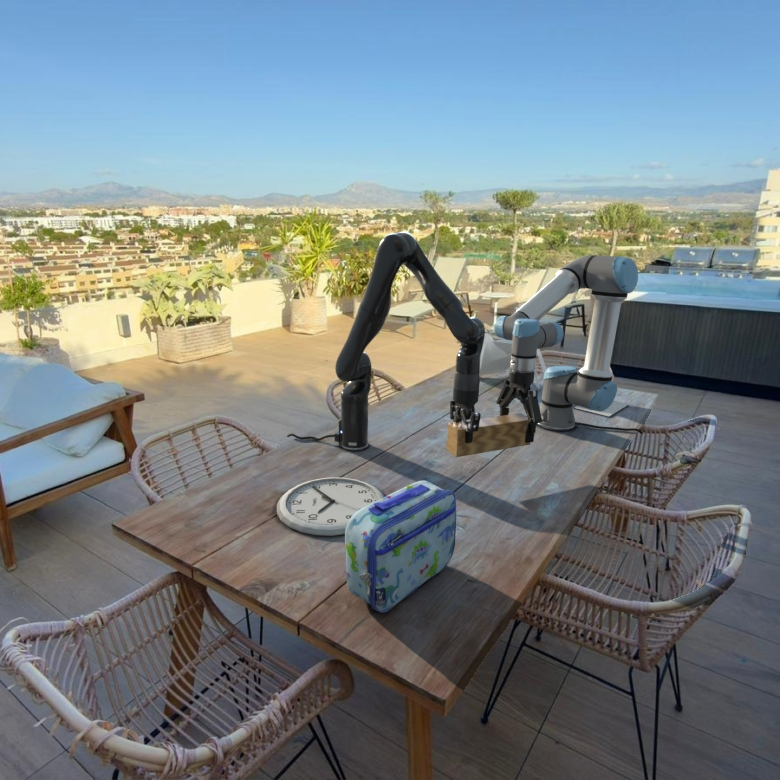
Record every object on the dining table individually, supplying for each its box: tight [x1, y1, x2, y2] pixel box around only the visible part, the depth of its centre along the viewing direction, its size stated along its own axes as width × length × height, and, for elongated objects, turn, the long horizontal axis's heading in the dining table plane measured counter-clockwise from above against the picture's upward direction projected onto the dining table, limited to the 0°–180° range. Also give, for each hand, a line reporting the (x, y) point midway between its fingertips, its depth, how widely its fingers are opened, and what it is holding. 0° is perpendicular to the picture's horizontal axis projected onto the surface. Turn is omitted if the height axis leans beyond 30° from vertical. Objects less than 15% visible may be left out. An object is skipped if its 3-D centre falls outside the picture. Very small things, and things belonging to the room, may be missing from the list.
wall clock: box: [276, 476, 386, 537], centre depth 142 cm, size 30×2×30 cm
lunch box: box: [344, 480, 457, 614], centre depth 109 cm, size 26×11×21 cm, turn 135°
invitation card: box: [573, 400, 629, 418], centre depth 226 cm, size 21×1×15 cm
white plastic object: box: [479, 306, 547, 390], centre depth 260 cm, size 37×45×31 cm
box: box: [446, 412, 531, 458], centre depth 163 cm, size 27×6×9 cm, turn 113°
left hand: (462, 438), depth 159 cm, fingers closed on box, 6 cm apart
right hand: (515, 434), depth 167 cm, fingers open, 13 cm apart
